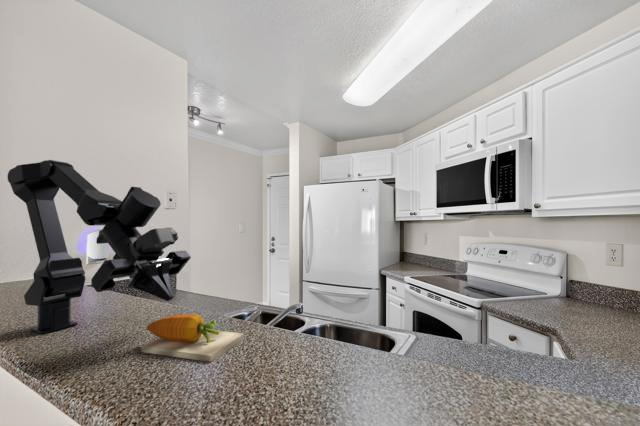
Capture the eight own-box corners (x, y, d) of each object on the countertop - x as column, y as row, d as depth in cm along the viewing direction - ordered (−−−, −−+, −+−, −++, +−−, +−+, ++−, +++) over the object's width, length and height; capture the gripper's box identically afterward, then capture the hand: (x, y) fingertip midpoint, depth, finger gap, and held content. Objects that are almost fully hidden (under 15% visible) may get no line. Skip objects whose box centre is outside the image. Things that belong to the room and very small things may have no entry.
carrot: (159, 328, 60) (226, 329, 57) (142, 346, 56) (213, 349, 53) (152, 308, 58) (220, 308, 55) (133, 325, 54) (206, 327, 51)
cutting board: (141, 352, 53) (141, 346, 53) (183, 332, 62) (183, 327, 62) (210, 361, 48) (210, 355, 48) (244, 338, 58) (244, 333, 58)
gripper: (102, 213, 51) (152, 279, 47) (183, 215, 69) (224, 263, 65) (71, 259, 53) (116, 325, 49) (157, 249, 71) (195, 298, 67)
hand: (170, 299), depth 57 cm, fingers closed
